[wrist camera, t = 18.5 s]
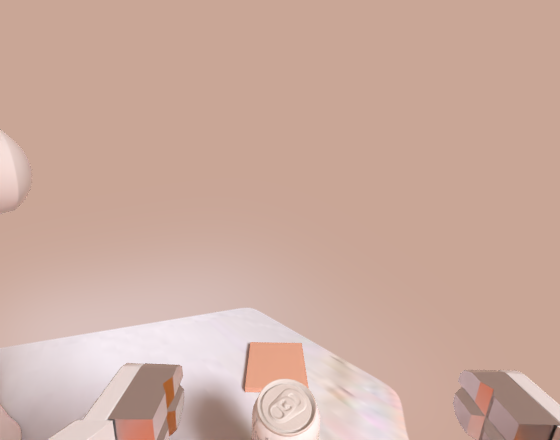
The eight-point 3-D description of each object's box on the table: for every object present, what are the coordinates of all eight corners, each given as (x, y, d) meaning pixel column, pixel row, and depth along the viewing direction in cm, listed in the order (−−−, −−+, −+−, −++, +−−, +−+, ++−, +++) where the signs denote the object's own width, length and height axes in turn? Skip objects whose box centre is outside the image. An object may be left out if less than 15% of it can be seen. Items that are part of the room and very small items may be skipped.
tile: (308, 387, 41) (301, 343, 50) (244, 387, 40) (250, 342, 50) (307, 395, 41) (301, 349, 51) (244, 394, 41) (250, 348, 50)
